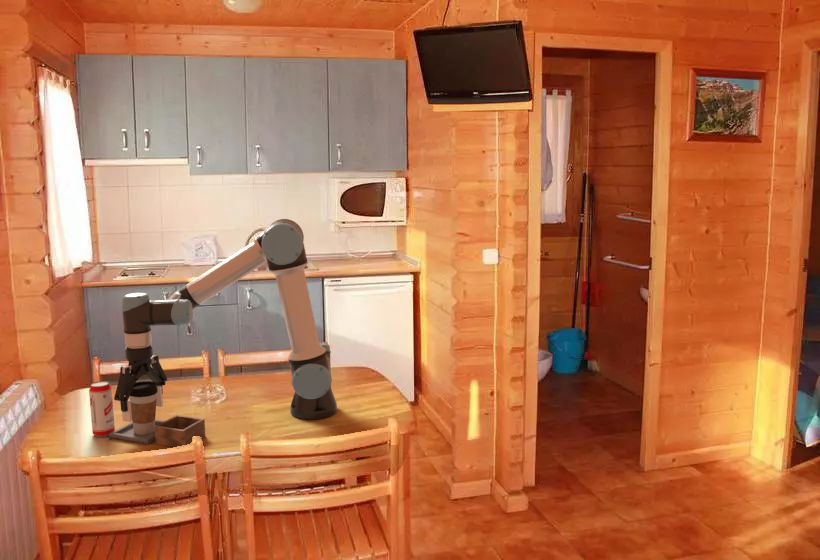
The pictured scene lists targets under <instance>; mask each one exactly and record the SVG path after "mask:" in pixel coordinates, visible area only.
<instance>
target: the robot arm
mask: <svg viewBox="0 0 820 560" xmlns="http://www.w3.org/2000/svg"><path fill="white" fill-rule="evenodd" d="M304 236H305V235H304V231H303V230H302V228H301V226H300V225H299V224H298V223H297V222H296V221H294V220H291V219H290V218H289V219H288V218H281V219H277V220H275V221H273V222H272V223H271V224H270V225H269V226H268V227H267V228H266V229H265V230H263V231H262V232H260V233H259V234H258V235H256V236H254V241H253V242H251V243H250V244H248V245H246V246H245V247H243V248H241V249H240V250H239V251H237V252H235V253H233V255H230V256H229V257H228V258H226V259H224V260H223V261H222V262H220V263H217V264H216V265H215V266H214V267H212V268H210V269H209V270H207V271H206V272H204V273H203V274H200V275H199V276H198V277H196V278H194V279H193V280H191V281H190V282H188V283H187V284H186V285H183V286H182V287H181V288H179V289H176V290H174V291H173V292H172V293H170V295H169V296H168V297H167V298H166V299H154V300H153V299H151V298H150V297H149V294H148V293H146V292H132V293H127V294H125V295H124V296H123V297H121V298H122V300H121V302H122V303H121V304H122V305H121V313H122V322H123V334H124V345H125V348H124V351H125V359H126V360H127V361H128V363H127V364H128V365H126V366H123V365H122V366H120V367H119V371H120V372H119V377H118V382H117V385H116V389H115V393H114V397H113V400H114V401H118V402H120V411H121V413H122V414H121V415H122V421H123V422H127V423H132V422H133V421H132V413H131V400H130V394H131V392H132V390H133V387H134V385H135V383H136V382H138V380H140V378H141V377H143V376H146V377H148V378H149V379H150V380H151V381H152V382H156V385H157V389H158V392H157V393H156V398H157V401H156V407H161V408H162V407H164V405H163V403H164V402H163V392H164V391H163V390H164V389H163V386H166V382H167V381H168V377H167V375H166V373H165V371H164V369H163V367H162V365H161V363H160V358H159V356H158V355H154V353H153V345H152V343H153V339H152V338H153V337H152V327H153V326H155V327H156V326H182V325H183V326H185V325H189V324H191V323H192V321H193V314H194V312H193V310H194V309H196V308H198V306H200V305H202V304H203V303H205V302H206V301H208V300H210V299H211V298H213V297H214V296H217V295H218V294H219V293H221V292H222V291H223V290H225V289H227V288H228V287H230V286H231V285H234V283H235V284H236V283H237V282H238V281H240V280H241V279H243V278H245V277H246V276H247V275H249V274H251V273H252V272H254V271H256V270H257V269H259V268H260V267H261V266H264V265H265V264H266V263H267V269H268V272H270V273H272V274H273V275H274V276H275V280H276V283H277V284H276V285H277V288H278V295H279V298H280V303H281V307H282V313H283V317H284V321H285V325H286V330H287V331H286V332H287V336H288V339H289V343H290V349H291V352H290V353H289V354H288V356H287V358H288V364H289V368H290V373H291V386H292V388H293V390H294V394H293V397H292V399H291V400H292V401H291V403H290V408H289V409H290V414H291V416H292V417H295V418H297V419H301V420H320V419H325V418H330V417H331V416H333V415H336V413H337V411H338V408H337V407H338V405H337V401H336V399H335V398H336V397H335V395H334V392H333V390H332V381H333V378H332V371H331V369H332V368H331V353H332V351H331V346H330V344H328V343H326V342H320V340H319V335H318V331H317V327H316V326H317V325H316V321H315V317H314V310H313V307H312V302H311V298H310V292H309V288H308V283H307V277H306V274H305V268H306V267H307V265H308V258H307V253H306V249H305V243H304V241H305V240H304V239H305V238H304Z"/></svg>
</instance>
